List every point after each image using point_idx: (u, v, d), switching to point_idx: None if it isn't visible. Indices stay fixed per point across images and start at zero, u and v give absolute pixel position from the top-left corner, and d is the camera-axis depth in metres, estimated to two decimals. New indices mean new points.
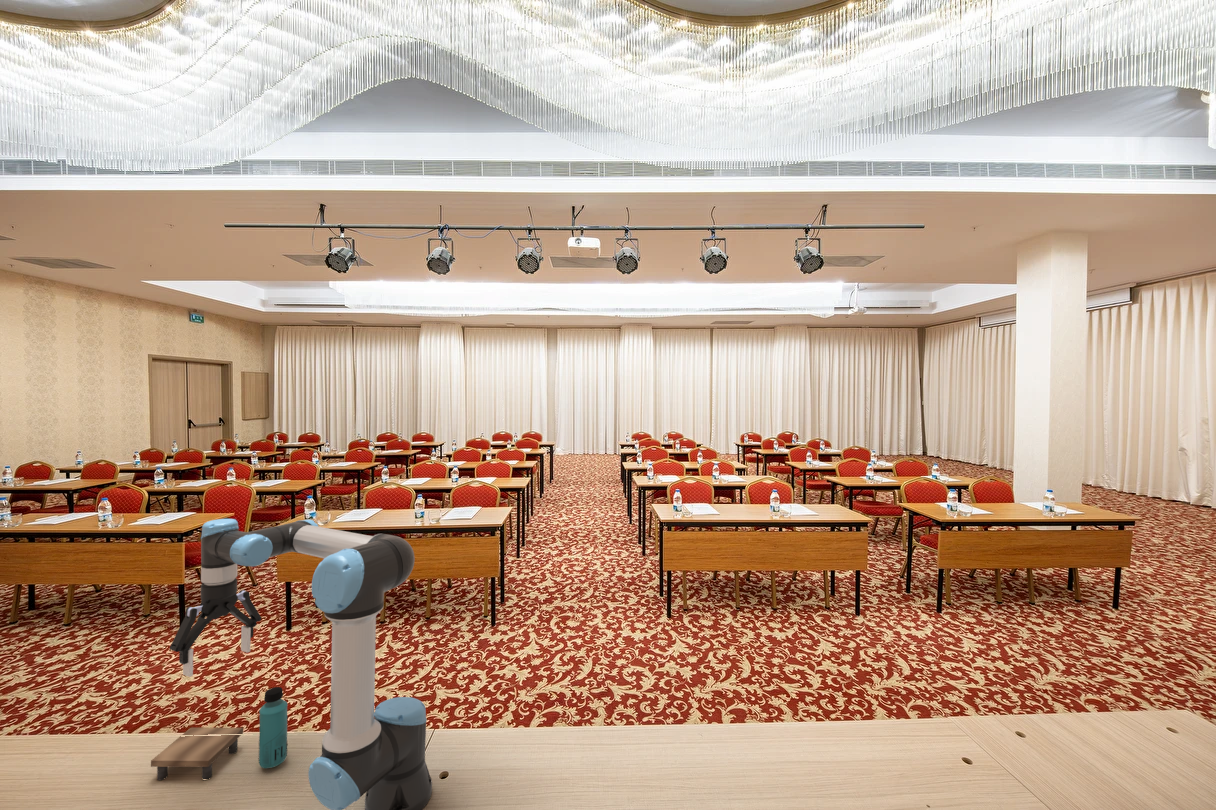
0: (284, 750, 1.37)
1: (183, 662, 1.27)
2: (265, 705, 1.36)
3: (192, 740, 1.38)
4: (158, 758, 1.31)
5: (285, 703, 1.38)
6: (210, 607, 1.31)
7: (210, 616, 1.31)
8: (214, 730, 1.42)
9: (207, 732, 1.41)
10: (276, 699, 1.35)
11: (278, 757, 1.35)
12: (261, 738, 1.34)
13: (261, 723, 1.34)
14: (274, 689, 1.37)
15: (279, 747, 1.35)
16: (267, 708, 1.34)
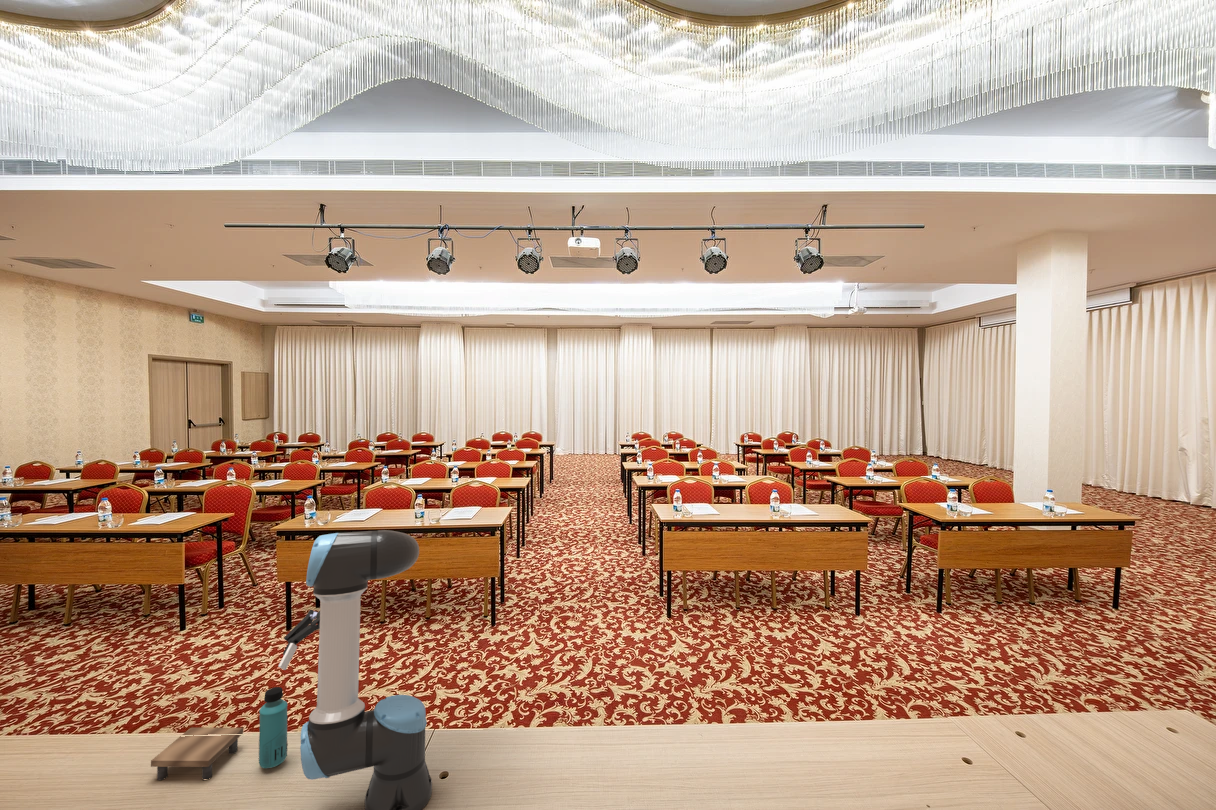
0: (284, 750, 1.37)
1: (284, 652, 1.50)
2: (265, 705, 1.36)
3: (192, 740, 1.38)
4: (158, 758, 1.31)
5: (285, 703, 1.38)
6: None
7: (315, 620, 1.55)
8: (214, 730, 1.42)
9: (207, 732, 1.41)
10: (276, 699, 1.35)
11: (278, 757, 1.35)
12: (261, 738, 1.34)
13: (261, 723, 1.34)
14: (274, 689, 1.37)
15: (279, 747, 1.35)
16: (267, 708, 1.34)
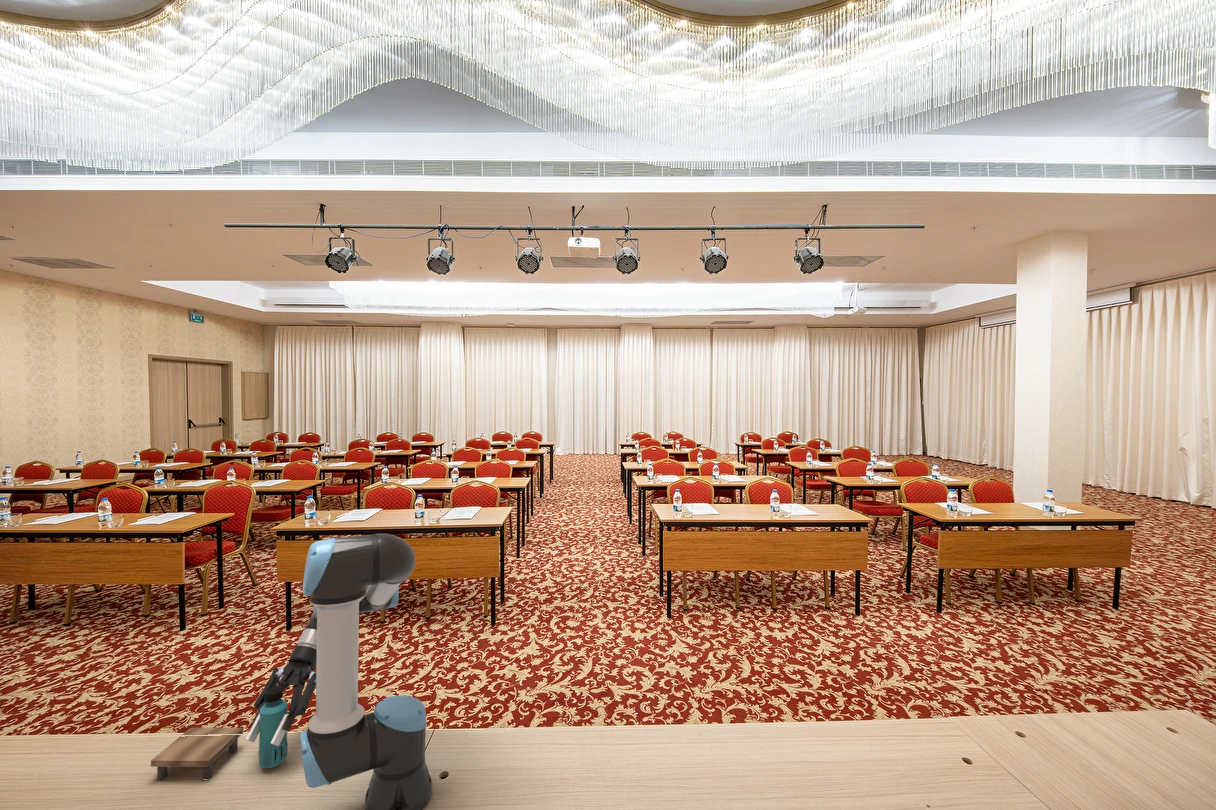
0: (284, 750, 1.37)
1: (252, 722, 1.36)
2: (265, 705, 1.36)
3: (192, 740, 1.38)
4: (158, 758, 1.31)
5: (285, 703, 1.38)
6: (288, 667, 1.45)
7: (282, 677, 1.42)
8: (214, 730, 1.42)
9: (207, 732, 1.41)
10: (276, 699, 1.35)
11: (278, 757, 1.35)
12: (261, 738, 1.34)
13: (261, 723, 1.34)
14: (274, 689, 1.37)
15: (279, 747, 1.35)
16: (267, 708, 1.34)
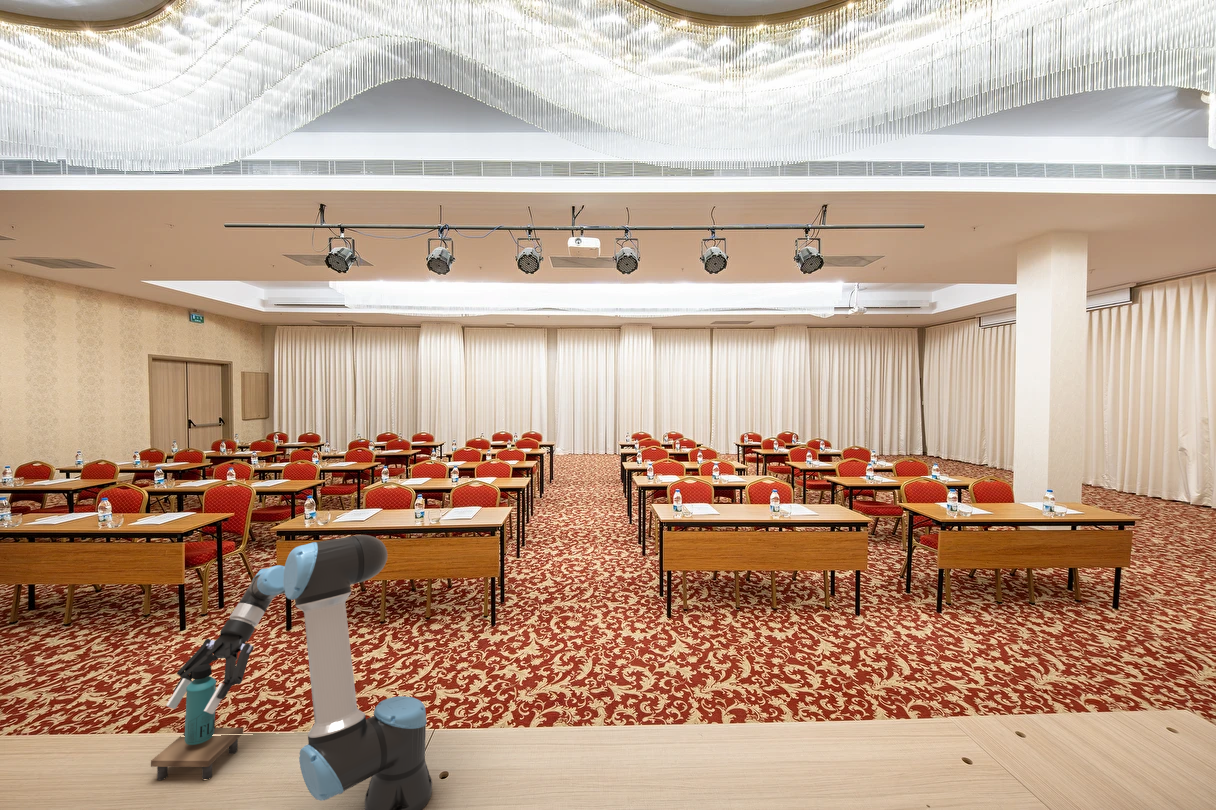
0: (211, 727, 1.36)
1: (174, 689, 1.37)
2: (192, 682, 1.35)
3: None
4: (158, 758, 1.31)
5: (213, 680, 1.37)
6: (218, 641, 1.44)
7: (211, 649, 1.42)
8: (214, 730, 1.42)
9: None
10: (204, 676, 1.35)
11: (204, 734, 1.35)
12: (187, 715, 1.34)
13: (187, 699, 1.34)
14: (202, 666, 1.37)
15: (205, 724, 1.35)
16: (194, 684, 1.34)
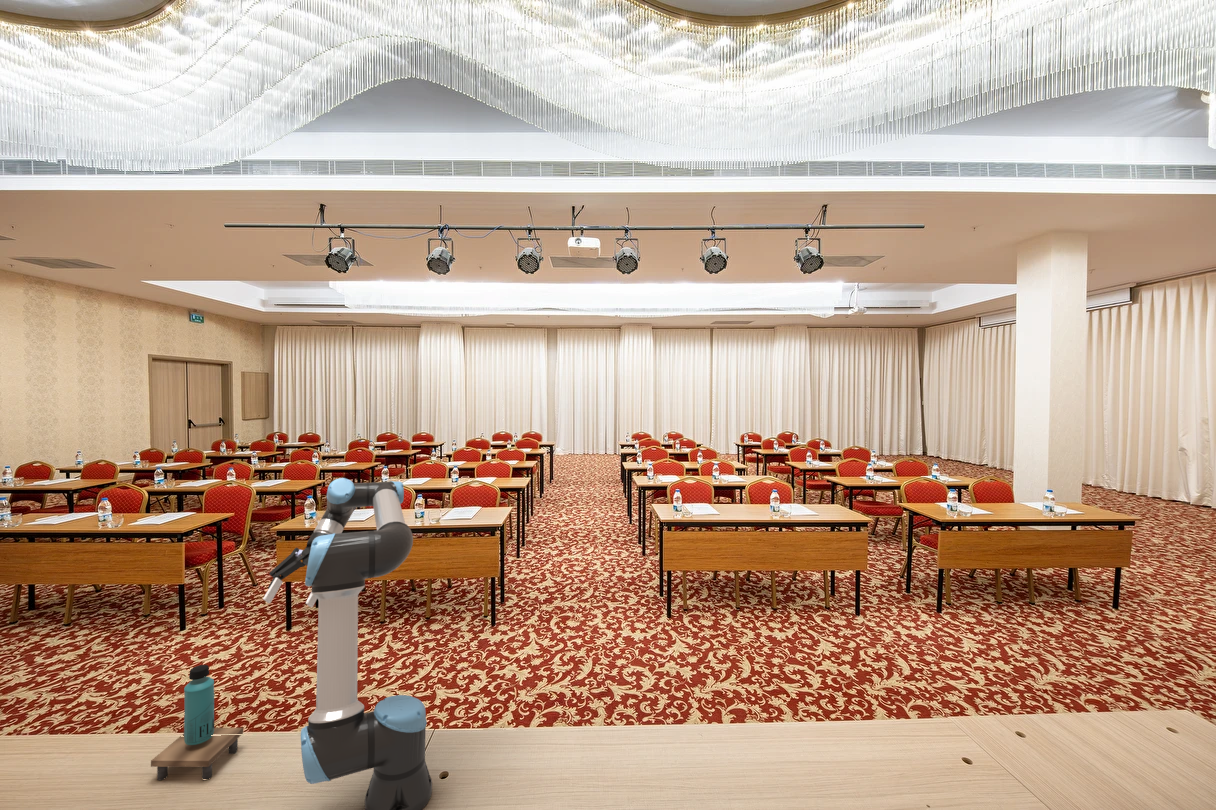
0: (210, 727, 1.36)
1: (269, 586, 1.52)
2: (190, 682, 1.35)
3: None
4: (158, 758, 1.31)
5: (211, 681, 1.37)
6: (305, 551, 1.59)
7: (300, 556, 1.57)
8: (214, 730, 1.42)
9: None
10: (201, 676, 1.35)
11: (203, 734, 1.35)
12: (186, 715, 1.34)
13: (185, 700, 1.34)
14: (200, 667, 1.37)
15: (204, 724, 1.35)
16: (191, 685, 1.34)
